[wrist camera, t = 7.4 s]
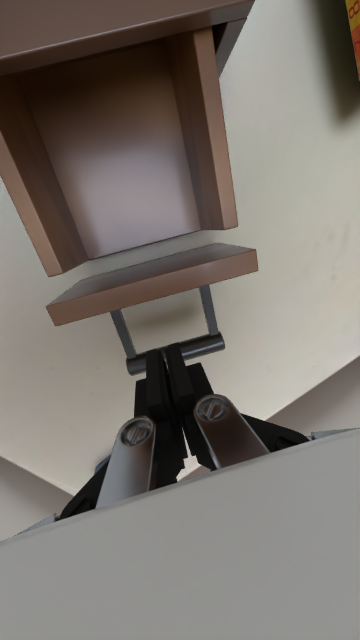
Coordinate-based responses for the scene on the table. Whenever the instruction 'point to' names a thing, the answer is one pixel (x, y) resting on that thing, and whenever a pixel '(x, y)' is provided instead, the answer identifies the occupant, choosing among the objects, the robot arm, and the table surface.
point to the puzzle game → (355, 27)
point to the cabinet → (108, 27)
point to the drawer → (124, 175)
